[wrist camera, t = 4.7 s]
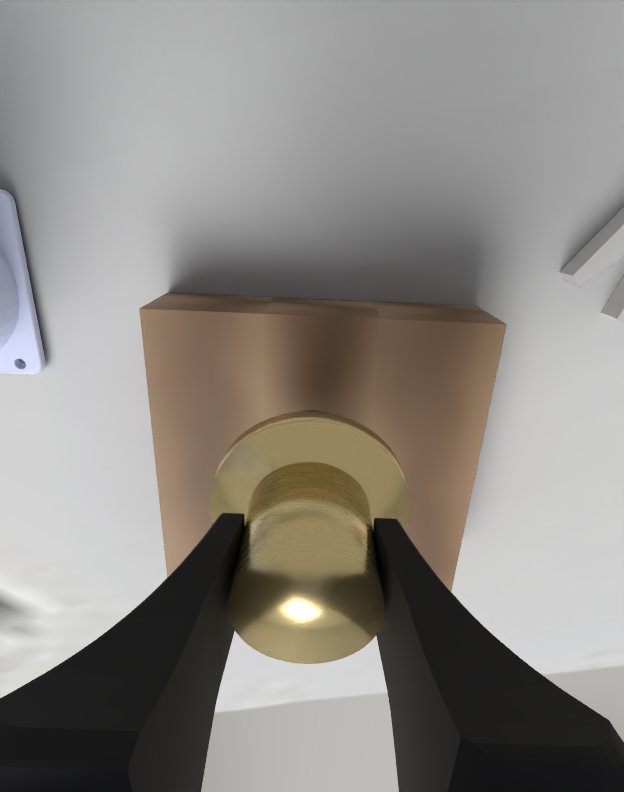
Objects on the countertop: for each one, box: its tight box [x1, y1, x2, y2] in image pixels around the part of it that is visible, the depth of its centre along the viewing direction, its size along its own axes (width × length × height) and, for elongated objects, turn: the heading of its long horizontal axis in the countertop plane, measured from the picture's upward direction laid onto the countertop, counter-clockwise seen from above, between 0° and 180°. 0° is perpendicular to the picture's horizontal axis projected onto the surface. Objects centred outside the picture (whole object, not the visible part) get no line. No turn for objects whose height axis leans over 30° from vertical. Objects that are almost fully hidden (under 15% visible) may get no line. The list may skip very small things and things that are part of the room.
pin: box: [209, 410, 410, 664], centre depth 14 cm, size 6×6×7 cm
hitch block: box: [140, 293, 506, 592], centre depth 22 cm, size 14×14×4 cm
